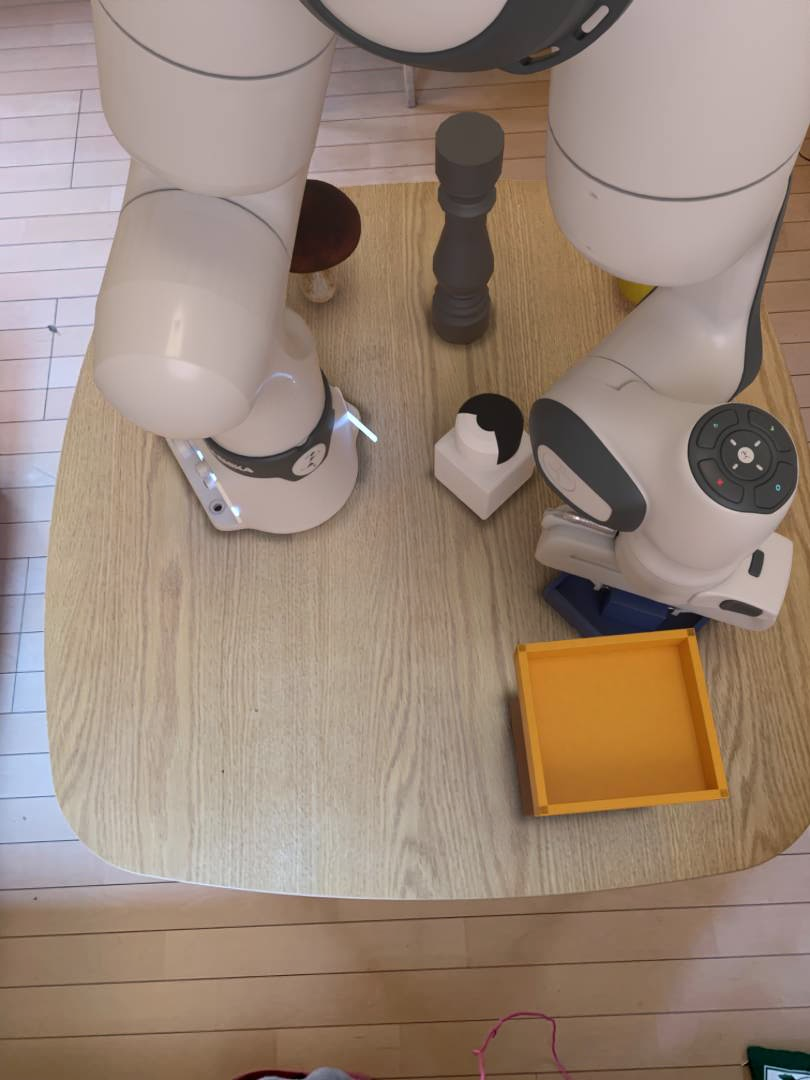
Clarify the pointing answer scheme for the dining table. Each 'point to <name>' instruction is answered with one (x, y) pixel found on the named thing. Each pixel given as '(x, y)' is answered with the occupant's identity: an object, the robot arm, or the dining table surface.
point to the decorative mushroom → (323, 238)
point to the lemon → (633, 290)
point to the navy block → (633, 609)
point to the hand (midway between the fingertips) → (636, 595)
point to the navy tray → (585, 605)
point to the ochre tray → (614, 724)
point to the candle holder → (465, 224)
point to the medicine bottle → (485, 453)
